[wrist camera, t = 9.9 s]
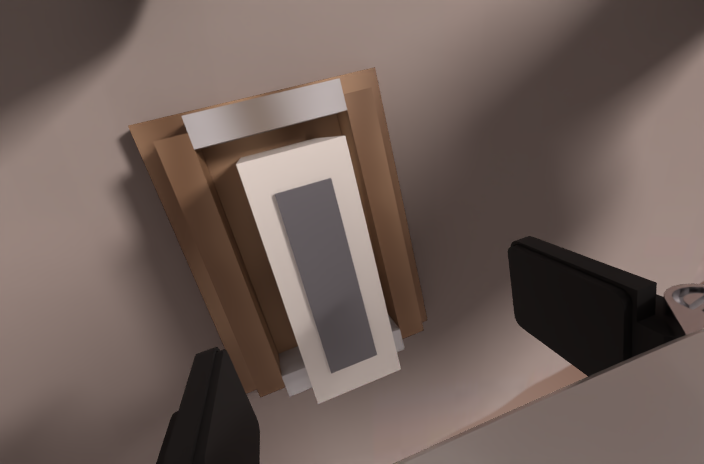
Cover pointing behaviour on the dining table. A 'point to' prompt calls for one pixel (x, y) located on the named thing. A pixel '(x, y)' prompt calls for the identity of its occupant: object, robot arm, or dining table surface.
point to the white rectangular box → (322, 261)
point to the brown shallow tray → (239, 223)
